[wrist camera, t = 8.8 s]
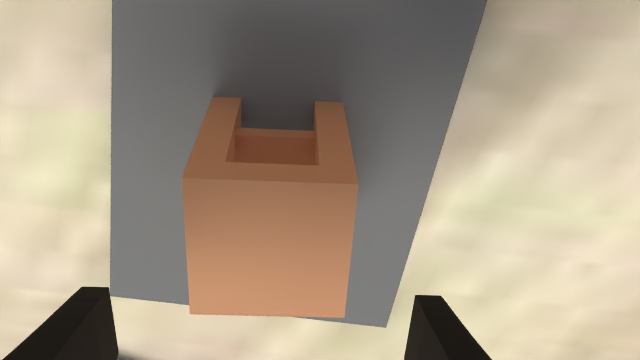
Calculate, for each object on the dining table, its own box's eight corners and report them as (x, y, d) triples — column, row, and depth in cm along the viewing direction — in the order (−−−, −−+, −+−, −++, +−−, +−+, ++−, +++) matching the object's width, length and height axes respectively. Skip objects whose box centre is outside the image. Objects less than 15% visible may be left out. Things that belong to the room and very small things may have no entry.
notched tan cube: (343, 102, 20) (358, 184, 15) (333, 212, 22) (344, 317, 17) (212, 96, 20) (181, 178, 15) (215, 208, 22) (190, 313, 17)
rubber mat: (487, -22, 19) (493, -19, 18) (384, 318, 26) (385, 327, 25) (118, -92, 18) (112, -91, 17) (114, 286, 25) (109, 295, 24)
